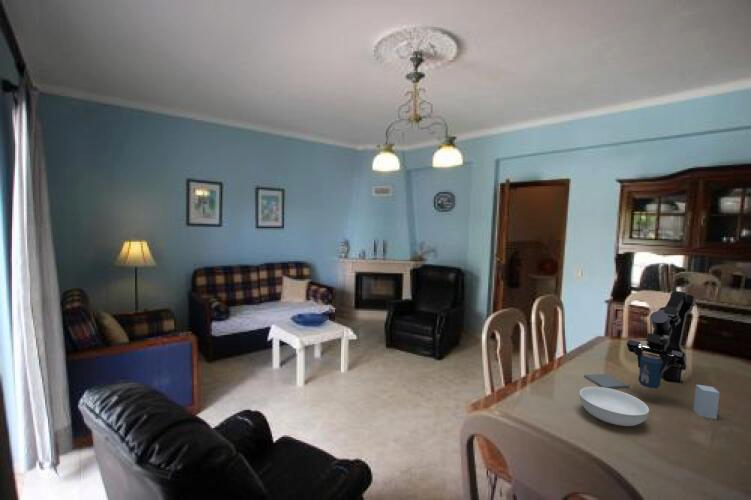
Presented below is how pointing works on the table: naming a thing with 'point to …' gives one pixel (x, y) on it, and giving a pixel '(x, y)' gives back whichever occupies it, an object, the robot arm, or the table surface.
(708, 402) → the gray block
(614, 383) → the mat
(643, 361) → the soda can
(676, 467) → the table surface
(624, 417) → the serving bowl
